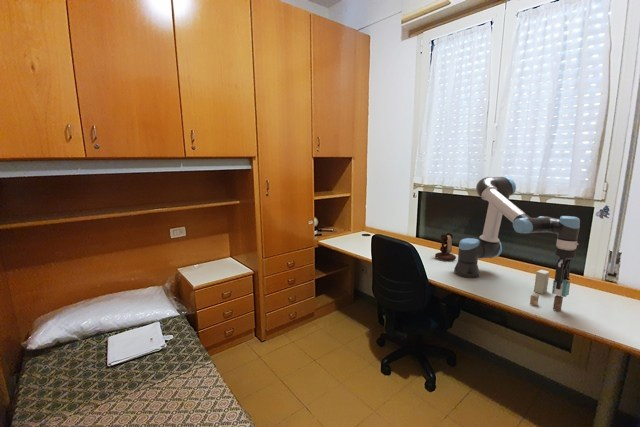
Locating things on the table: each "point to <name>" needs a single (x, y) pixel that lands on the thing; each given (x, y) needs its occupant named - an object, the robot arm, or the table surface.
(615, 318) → the table surface
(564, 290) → the teal block
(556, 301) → the post
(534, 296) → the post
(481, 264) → the table surface
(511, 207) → the robot arm
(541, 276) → the skincare box
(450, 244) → the brown statuette
